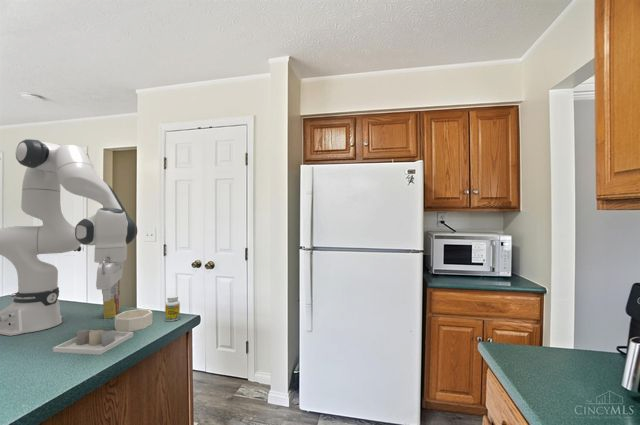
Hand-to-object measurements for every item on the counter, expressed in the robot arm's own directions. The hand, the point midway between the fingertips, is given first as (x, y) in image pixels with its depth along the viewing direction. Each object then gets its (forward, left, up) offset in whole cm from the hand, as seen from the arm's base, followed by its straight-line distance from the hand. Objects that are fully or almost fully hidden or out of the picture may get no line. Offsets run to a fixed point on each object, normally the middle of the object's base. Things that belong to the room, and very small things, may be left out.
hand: (110, 297), depth 97 cm
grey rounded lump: (0, 0, -16) cm, 16 cm away
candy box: (-23, +28, -16) cm, 40 cm away
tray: (-5, 0, -16) cm, 17 cm away
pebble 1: (-9, 0, -16) cm, 18 cm away
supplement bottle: (+6, +26, -16) cm, 31 cm away
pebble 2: (-5, 0, -16) cm, 16 cm away
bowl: (-4, +16, -16) cm, 23 cm away
